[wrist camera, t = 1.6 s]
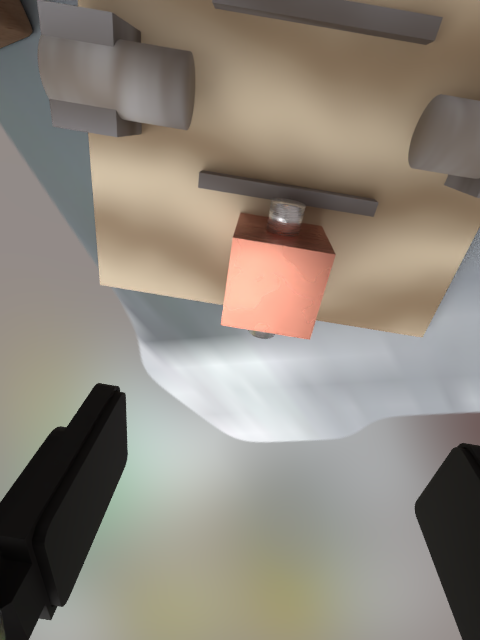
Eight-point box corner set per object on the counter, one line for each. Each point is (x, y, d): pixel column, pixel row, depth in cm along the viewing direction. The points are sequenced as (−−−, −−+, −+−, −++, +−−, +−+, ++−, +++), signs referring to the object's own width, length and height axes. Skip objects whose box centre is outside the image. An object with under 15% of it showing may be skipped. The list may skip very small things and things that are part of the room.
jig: (83, -81, 15) (7, -163, 11) (576, 5, 16) (698, -40, 11) (107, 277, 25) (71, 313, 20) (416, 328, 25) (447, 374, 20)
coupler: (227, 305, 24) (217, 346, 19) (244, 186, 20) (237, 205, 15) (297, 317, 24) (303, 360, 20) (328, 200, 20) (345, 223, 15)
